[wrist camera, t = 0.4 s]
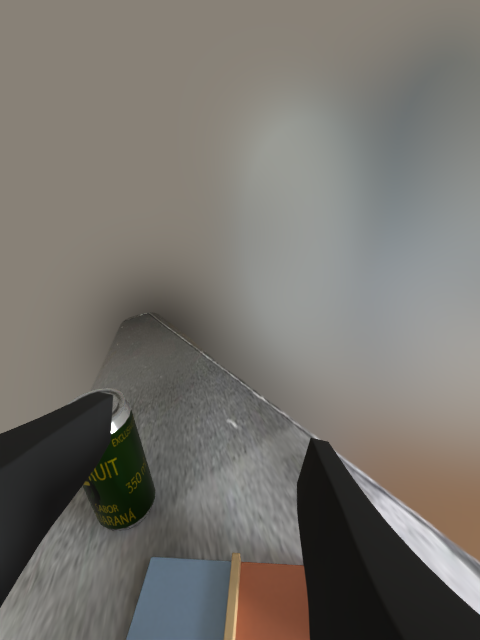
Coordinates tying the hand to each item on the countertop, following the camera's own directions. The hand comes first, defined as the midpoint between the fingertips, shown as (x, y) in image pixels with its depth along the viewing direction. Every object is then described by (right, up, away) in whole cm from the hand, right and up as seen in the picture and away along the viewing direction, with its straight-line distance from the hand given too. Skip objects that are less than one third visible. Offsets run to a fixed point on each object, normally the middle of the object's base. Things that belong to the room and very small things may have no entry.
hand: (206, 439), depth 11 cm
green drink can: (-9, -14, +19) cm, 25 cm away
